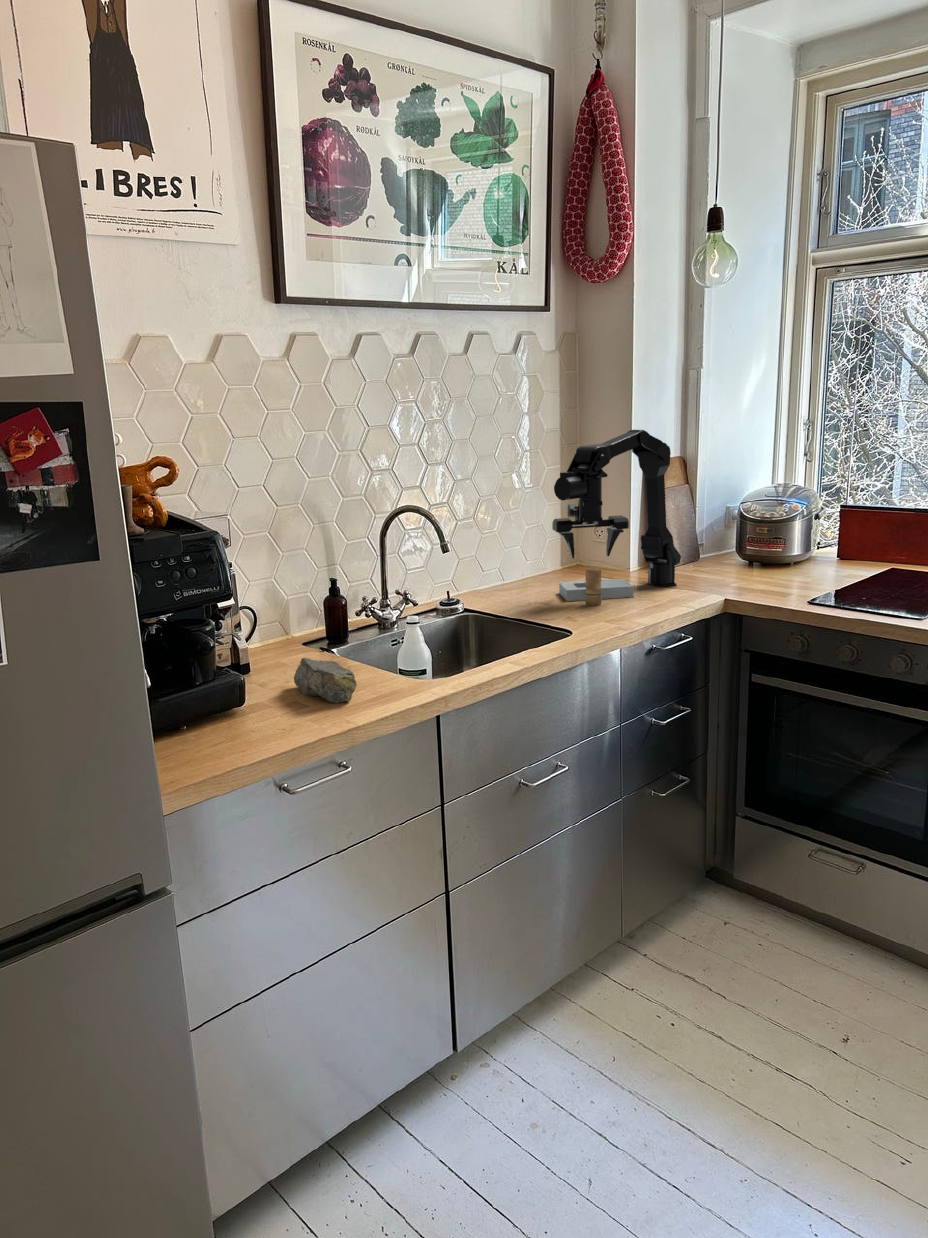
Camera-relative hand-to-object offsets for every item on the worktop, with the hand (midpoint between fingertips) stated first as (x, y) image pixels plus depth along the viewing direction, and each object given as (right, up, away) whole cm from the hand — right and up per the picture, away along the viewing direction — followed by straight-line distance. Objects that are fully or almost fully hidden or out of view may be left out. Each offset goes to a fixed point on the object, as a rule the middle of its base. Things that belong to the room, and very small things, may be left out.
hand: (590, 557), depth 229 cm
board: (+3, -10, +12) cm, 15 cm away
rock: (-59, -31, -59) cm, 89 cm away
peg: (+1, -12, +2) cm, 12 cm away
